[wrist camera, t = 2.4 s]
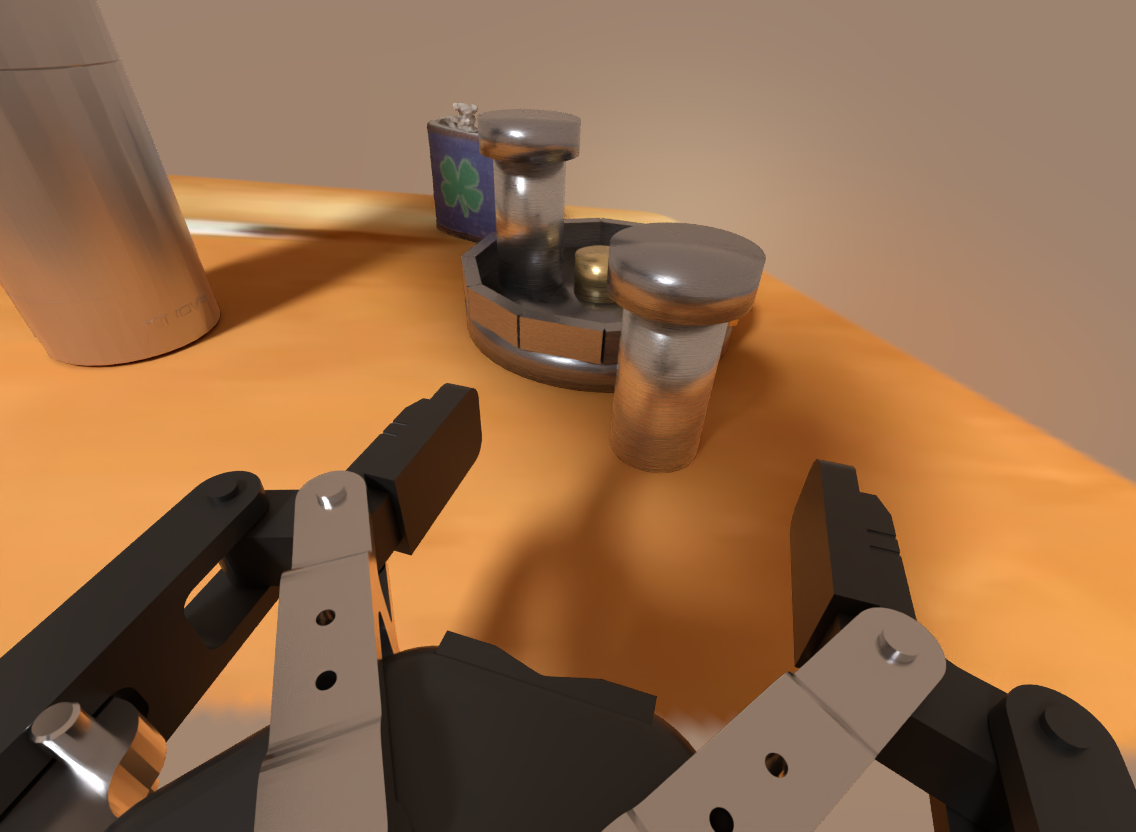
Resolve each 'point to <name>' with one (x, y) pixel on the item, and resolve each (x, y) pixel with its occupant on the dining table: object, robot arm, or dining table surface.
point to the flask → (461, 176)
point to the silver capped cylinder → (673, 333)
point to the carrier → (542, 261)
